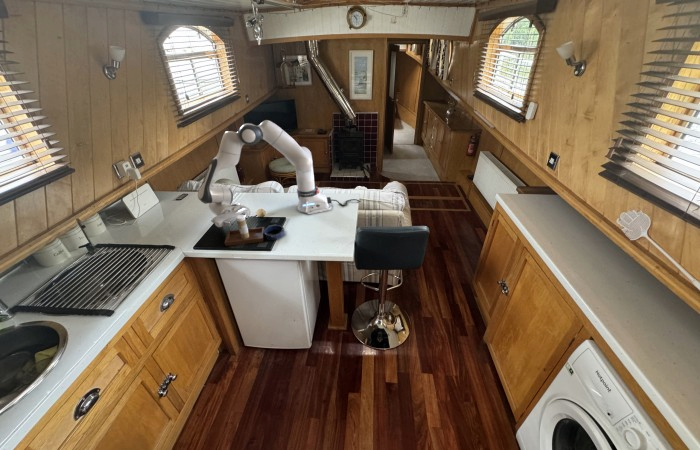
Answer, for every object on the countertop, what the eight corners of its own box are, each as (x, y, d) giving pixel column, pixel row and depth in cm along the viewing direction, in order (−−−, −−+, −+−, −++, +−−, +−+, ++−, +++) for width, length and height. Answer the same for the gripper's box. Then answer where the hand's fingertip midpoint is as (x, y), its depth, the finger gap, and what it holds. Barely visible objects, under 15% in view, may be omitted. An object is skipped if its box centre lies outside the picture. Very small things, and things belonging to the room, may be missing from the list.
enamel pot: (284, 227, 169) (283, 223, 167) (284, 240, 158) (283, 235, 156) (265, 229, 167) (264, 225, 166) (264, 242, 156) (263, 237, 154)
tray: (264, 230, 166) (264, 226, 165) (263, 241, 157) (262, 238, 155) (229, 234, 164) (228, 230, 162) (225, 246, 154) (224, 242, 152)
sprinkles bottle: (240, 236, 160) (234, 215, 153) (248, 233, 163) (243, 213, 155) (242, 240, 157) (236, 219, 150) (250, 237, 159) (245, 216, 152)
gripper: (207, 215, 156) (219, 223, 148) (241, 202, 169) (254, 209, 161) (211, 225, 159) (223, 233, 151) (243, 211, 172) (256, 218, 164)
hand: (239, 221), depth 156 cm, fingers open, 8 cm apart
